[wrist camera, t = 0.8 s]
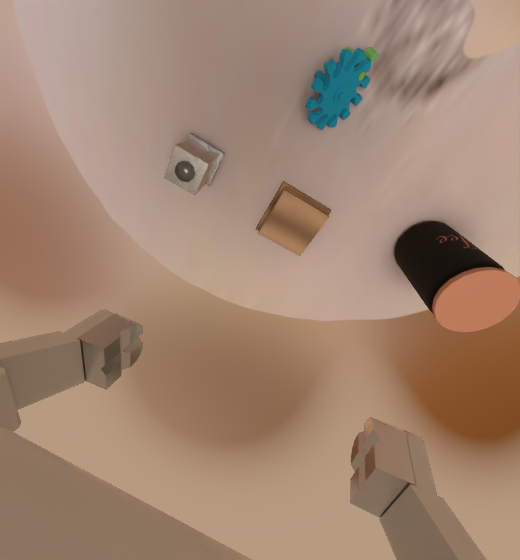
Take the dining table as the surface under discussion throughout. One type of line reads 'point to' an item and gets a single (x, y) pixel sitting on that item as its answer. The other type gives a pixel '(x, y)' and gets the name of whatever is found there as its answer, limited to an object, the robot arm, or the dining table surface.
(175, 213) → the dining table surface
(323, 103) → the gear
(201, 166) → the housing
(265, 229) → the stand
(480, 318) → the coffee jar
